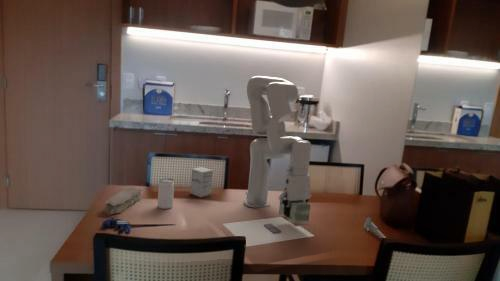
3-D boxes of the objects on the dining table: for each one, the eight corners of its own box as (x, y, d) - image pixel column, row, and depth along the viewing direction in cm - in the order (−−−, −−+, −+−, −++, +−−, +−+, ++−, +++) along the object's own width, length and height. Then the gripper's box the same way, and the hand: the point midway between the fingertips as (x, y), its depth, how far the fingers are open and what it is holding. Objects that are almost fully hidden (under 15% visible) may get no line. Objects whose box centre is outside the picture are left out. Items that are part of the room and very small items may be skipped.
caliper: (363, 229, 161) (365, 215, 160) (365, 229, 161) (368, 215, 160) (394, 252, 142) (397, 236, 141) (397, 252, 142) (400, 236, 141)
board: (222, 227, 148) (222, 223, 148) (285, 219, 163) (285, 216, 162) (245, 250, 131) (246, 246, 131) (313, 239, 145) (314, 235, 145)
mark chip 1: (263, 225, 150) (263, 224, 150) (271, 224, 151) (271, 223, 151) (268, 229, 147) (268, 228, 147) (275, 228, 148) (275, 227, 148)
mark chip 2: (268, 230, 146) (269, 228, 146) (276, 229, 148) (276, 227, 148) (273, 233, 143) (273, 232, 143) (281, 232, 145) (281, 231, 145)
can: (154, 207, 161) (156, 180, 159) (161, 202, 168) (163, 177, 165) (168, 210, 160) (170, 183, 158) (175, 205, 166) (176, 179, 164)
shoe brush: (117, 216, 149) (118, 204, 148) (100, 213, 150) (100, 202, 149) (144, 197, 172) (144, 187, 172) (128, 195, 174) (129, 185, 173)
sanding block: (278, 215, 154) (280, 196, 153) (290, 213, 157) (292, 195, 156) (295, 226, 144) (297, 206, 143) (308, 224, 147) (310, 205, 146)
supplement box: (189, 193, 183) (191, 168, 181) (200, 190, 189) (202, 166, 187) (200, 197, 179) (202, 172, 177) (211, 194, 185) (213, 169, 183)
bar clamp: (101, 229, 132) (102, 217, 141) (101, 235, 132) (102, 223, 141) (192, 228, 143) (188, 217, 152) (192, 234, 143) (187, 223, 152)
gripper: (285, 174, 140) (280, 220, 143) (321, 172, 148) (316, 216, 151) (274, 169, 146) (270, 213, 149) (310, 168, 155) (305, 209, 158)
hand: (293, 214), depth 150 cm, fingers closed on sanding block, 6 cm apart
